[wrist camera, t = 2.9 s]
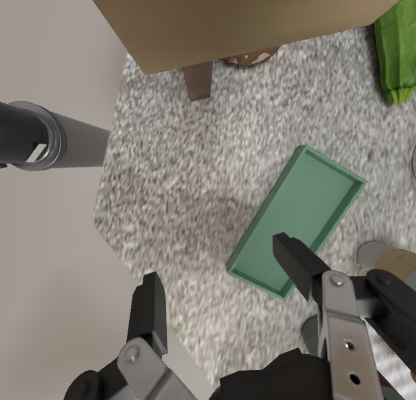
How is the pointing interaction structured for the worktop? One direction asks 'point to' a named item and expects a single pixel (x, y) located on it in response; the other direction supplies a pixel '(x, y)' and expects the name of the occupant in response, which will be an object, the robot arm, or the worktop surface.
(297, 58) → the worktop surface
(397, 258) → the coffee cup
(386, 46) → the vegetable
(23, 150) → the robot arm
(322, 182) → the tray
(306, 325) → the vodka
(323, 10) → the beech stick
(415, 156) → the utensil holder
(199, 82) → the walnut stand
